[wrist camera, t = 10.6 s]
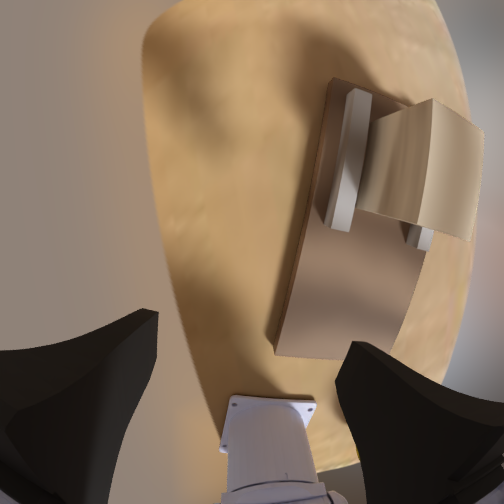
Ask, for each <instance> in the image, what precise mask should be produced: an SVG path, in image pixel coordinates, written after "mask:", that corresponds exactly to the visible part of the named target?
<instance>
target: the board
mask: <svg viewBox="0 0 504 504" xmlns="http://www.w3.org/2000/svg"><path fill="white" fill-rule="evenodd" d="M405 108H408V106H405V105H403V104H401V103H399V102H397V101H395V100H392V99H390V98H388V97H385V96H383V95H381V94H378V93H376V92H373V91H371V90H368V89H366V88H363V87H360V86H358V85H355V84H352V83H349V82H346V81H343V80H340V79H337V78H333V79H332V80H331V81H330V82H329V83H328V90H327V97H326V103H325V109H324V116H323V122H322V128H321V134H320V139H319V145H318V151H317V156H316V162H315V167H314V172H313V177H312V183H311V188H310V193H309V198H308V203H307V207H306V212H305V217H304V222H303V226H302V231H301V235H300V240H299V244H298V249H297V253H296V258H295V262H294V266H293V270H292V275H291V279H290V283H289V287H288V291H287V295H286V299H285V303H284V307H283V311H282V315H281V319H280V323H279V326H278V330H277V334H276V338H275V341H274V345H273V349H274V354H275V355H276V356H286V357H297V358H310V359H326V360H345V357H346V355H347V352H348V350H349V348H350V345H351V343H352V341H364V342H368V343H370V344H372V345H374V346H375V347H377V348H379V349H380V350H382V351H384V352H385V353H387V354H388V355H389V353H390V351H391V349H392V347H393V345H394V342H395V340H396V338H397V335H398V333H399V331H400V328H401V326H402V323H403V321H404V318H405V315H406V313H407V310H408V307H409V305H410V302H411V299H412V296H413V293H414V291H415V288H416V284H417V281H418V278H419V275H420V272H421V269H422V265H423V262H424V258H425V255H426V251H428V252H429V249H430V245H431V241H432V237H433V233H434V230H431V229H428V228H425V227H421V226H418V225H415V224H411V223H408V222H404V221H401V220H398V219H394V218H391V217H387V216H384V215H380V214H376V213H373V212H369V211H365V210H362V209H358V208H356V204H357V199H358V194H359V189H360V184H361V179H362V173H363V167H364V162H365V156H366V149H367V143H368V136H369V129H370V123H371V122H373V121H375V120H378V119H380V118H382V117H385V116H387V115H390V114H392V113H395V112H397V111H400V110H402V109H405Z"/></svg>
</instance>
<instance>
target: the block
mask: <svg viewBox="0 0 504 504" xmlns="http://www.w3.org/2000/svg"><path fill="white" fill-rule="evenodd" d="M483 152H484V132H483V131H482V130H481V129H479V128H478V127H477V126H475V125H474V124H472V123H471V122H470V121H468V120H467V119H465V118H464V117H462V116H461V115H459V114H458V113H456V112H455V111H453V110H452V109H450V108H448V107H447V106H445V105H444V104H442V103H440V102H439V101H437V100H435V99H433V98H432V99H429V100H426V101H424V102H421V103H418V104H416V105H413V106H410V107H408V108H405V109H402V110H400V111H397V112H395V113H392V114H390V115H387V116H385V117H382V118H380V119H378V120H375V121H373V122H371V123H370V129H369V136H368V143H367V149H366V156H365V162H364V167H363V173H362V179H361V184H360V189H359V194H358V199H357V204H356V208H358V209H362V210H365V211H369V212H373V213H376V214H380V215H384V216H387V217H391V218H394V219H398V220H401V221H404V222H408V223H411V224H415V225H418V226H421V227H425V228H428V229H431V230H434V231H438V232H441V233H444V234H447V235H450V236H453V237H456V238H459V239H462V240H465V241H468V242H470V240H471V236H472V231H473V227H474V222H475V217H476V211H477V206H478V199H479V192H480V185H481V176H482V166H483Z"/></svg>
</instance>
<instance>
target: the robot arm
mask: <svg viewBox="0 0 504 504" xmlns="http://www.w3.org/2000/svg"><path fill="white" fill-rule="evenodd" d="M158 314H159V312H157V311H152V310H147V309H143V308H142V309H139V310H137V311H135V312H133V313H131V314H129V315H127V316H125V317H123V318H121V319H119V320H117V321H115V322H112V323H110V324H108V325H106V326H104V327H101V328H99V329H97V330H94V331H92V332H89V333H87V334H84V335H82V336H79V337H77V338H74V339H70V340H67V341H63V342H59V343H56V344H52V345H46V346H41V347H35V348H29V349H20V350H4V351H0V504H108V498H109V492H110V488H111V483H112V478H113V474H114V470H115V466H116V462H117V457H118V454H119V451H120V447H121V444H122V440H123V438H124V434H125V432H126V429H127V427H128V424H129V422H130V420H131V418H132V416H133V413H134V411H135V409H136V407H137V405H138V403H139V401H140V399H141V396H142V394H143V392H144V390H145V388H146V386H147V384H148V382H149V380H150V377H151V374H152V371H153V368H154V365H155V362H156V358H157V331H158ZM335 385H336V390H337V395H338V399H339V403H340V406H341V408H342V411H343V413H344V416H345V419H346V421H347V424H348V426H349V429H350V431H351V434H352V437H353V439H354V442H355V444H356V447H357V450H358V454H359V458H360V462H361V467H362V471H363V477H364V483H365V490H366V499H367V504H504V469H503V467H502V466H501V464H502V463H503V462H504V457H503V456H502V454H503V453H504V403H501V402H494V401H489V400H483V399H479V398H475V397H472V396H469V395H465V394H462V393H459V392H457V391H454V390H451V389H449V388H447V387H444V386H442V385H440V384H438V383H436V382H434V381H432V380H430V379H428V378H426V377H424V376H423V375H421V374H419V373H417V372H416V371H414V370H412V369H411V368H409V367H407V366H406V365H404V364H403V363H401V362H399V361H398V360H396V359H395V358H393V357H392V356H390V355H388V354H387V353H385V352H384V351H382V350H380V349H379V348H377V347H375V346H374V345H372V344H370V343H368V342H364V341H352V343H351V345H350V348H349V350H348V352H347V355H346V357H345V360H344V362H343V364H342V366H341V369H340V371H339V373H338V375H337V378H336V380H335ZM233 403H236V404H233ZM316 407H317V403H316V401H314V400H289V399H272V398H260V397H250V396H241V395H233V396H231V397H230V400H229V405H228V410H227V414H226V419H225V424H224V428H223V433H222V437H221V442H220V447H219V451H220V452H223V453H228V471H227V472H228V474H227V493H222V497H221V503H214V504H348V503H347V501H346V499H345V498H344V497H343V496H342V495H340V494H338V493H337V492H335V491H329V492H326V489H325V485H324V483H323V482H321V483H319V482H318V478H317V473H316V469H315V465H314V461H313V457H312V453H311V449H310V445H309V441H308V437H307V433H306V427H307V425H308V423H309V421H310V419H311V417H312V415H313V413H314V411H315V409H316ZM309 408H310V409H309Z"/></svg>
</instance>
